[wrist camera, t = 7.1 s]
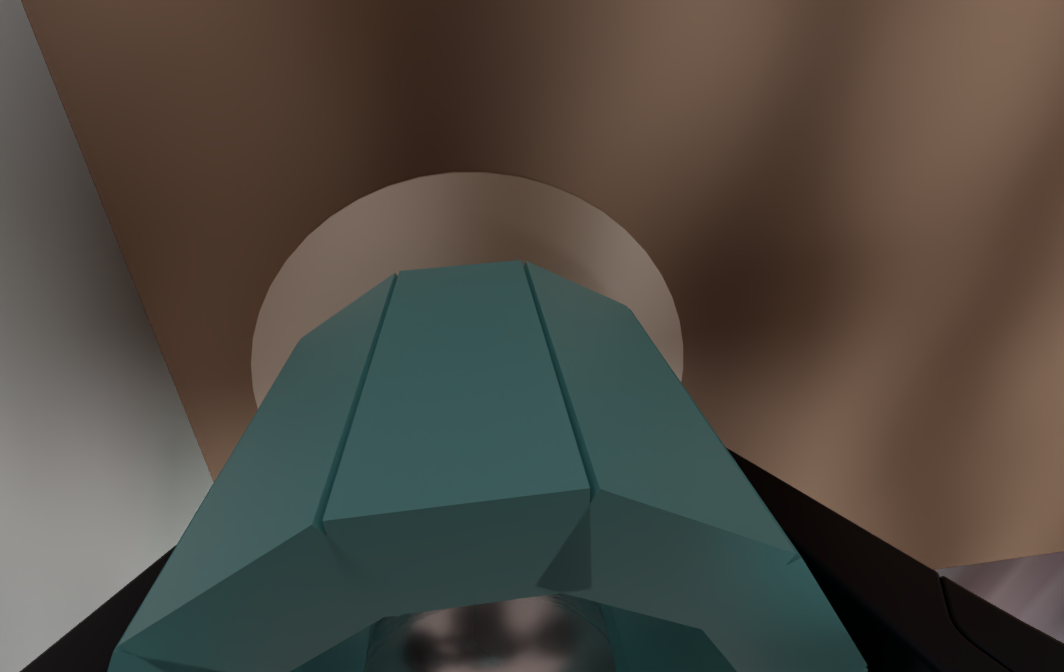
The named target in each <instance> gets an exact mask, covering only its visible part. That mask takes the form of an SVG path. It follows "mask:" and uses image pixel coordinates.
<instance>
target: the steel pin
mask: <svg viewBox="0 0 1064 672" xmlns="http://www.w3.org/2000/svg"><path fill="white" fill-rule="evenodd" d="M364 672H616V669H615V660H614V656H613V652H612V648H611V644H610V640H609V636H608V632H607V629H606V625H605V621H604V617H603V613H602V609H601V605H600V603H598V602H594V601H591V600H587V599H583V598H579V597H575V596H571V595H568V594H564V593H558V594H551V595H543V596H536V597H529V598H521V599H514V600H507V601H500V602H492V603H485V604H478V605H470V606H463V607H456V608H448V609H441V610H434V611H427V612H419V613H412V614H405V615H397V616H390V617H384V618H382V619H380V620H378V621H377V622H375V623H373V624H372V625H371V630H370V636H369V642H368V648H367V655H366V661H365V667H364Z"/></svg>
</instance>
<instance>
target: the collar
mask: <svg viewBox="0 0 1064 672" xmlns="http://www.w3.org/2000/svg"><path fill="white" fill-rule="evenodd" d="M558 593H564V594H568V595H571V596H575V597H579V598H583V599H587V600H591V601H594V602H598V603H600V605H601V609H602V613H603V617H604V621H605V625H606V629H607V632H608V636H609V640H610V644H611V648H612V652H613V656H614V660H615V669H616V672H868V669H867V668H866V666H868V665H867V663H866V662H865V660H864V659H863V657H862V655H861V654H860V652H859V650H858V649H857V647H856V645H855V644H854V642H853V641H852V639H851V637H850V636H849V634H848V632H847V631H846V629H845V627H844V626H843V624H842V623H841V621H840V619H839V618H838V616H837V614H836V613H835V611H834V609H833V608H832V606H831V605H830V603H829V601H828V600H827V598H826V596H825V595H824V593H823V591H822V590H821V588H820V587H819V585H818V583H817V582H816V580H815V578H814V577H813V575H812V573H811V572H810V570H809V569H808V567H807V565H806V564H805V562H804V560H803V559H802V557H801V556H800V554H799V553H798V551H797V550H796V548H795V547H794V546H793V544H792V543H791V541H790V540H789V538H788V537H787V535H786V534H785V533H784V531H783V530H782V528H781V527H780V525H779V524H778V522H777V521H776V519H775V518H774V517H773V515H772V514H771V512H770V511H769V509H768V508H767V506H766V505H765V504H764V502H763V501H762V499H761V498H760V496H759V495H758V493H757V492H756V490H755V489H754V488H753V486H752V485H751V483H750V482H749V480H748V479H747V477H746V476H745V475H744V473H743V472H742V470H741V469H740V467H739V466H738V464H737V463H736V461H735V460H734V459H733V457H732V456H731V454H730V453H729V451H728V450H727V448H726V447H725V446H724V444H723V443H722V441H721V440H720V438H719V437H718V435H717V434H716V433H715V431H714V430H713V428H712V427H711V425H710V424H709V422H708V421H707V419H706V418H705V417H704V415H703V414H702V412H701V411H700V409H699V408H698V406H697V405H696V404H695V402H694V401H693V399H692V398H691V396H690V395H689V393H688V392H687V390H686V389H685V388H684V386H683V385H682V383H681V382H680V380H679V379H678V377H677V376H676V375H675V373H674V372H673V370H672V369H671V367H670V366H669V364H668V363H667V361H666V360H665V359H664V357H663V356H662V354H661V353H660V351H659V350H658V348H657V347H656V346H655V344H654V343H653V341H652V340H651V338H650V337H649V335H648V334H647V332H646V331H645V330H644V328H643V327H642V325H641V324H640V322H639V321H638V319H637V318H636V317H635V315H634V314H633V312H632V311H631V309H629V308H628V307H627V306H626V305H624V304H622V303H619V302H617V301H615V300H613V299H610V298H608V297H606V296H604V295H601V294H599V293H597V292H595V291H593V290H590V289H588V288H586V287H584V286H581V285H579V284H577V283H575V282H572V281H570V280H568V279H566V278H564V277H561V276H559V275H557V274H555V273H552V272H550V271H548V270H546V269H543V268H541V267H539V266H537V265H535V264H532V263H530V262H528V261H526V262H525V264H524V266H523V264H522V261H521V260H515V261H504V262H493V263H482V264H470V265H459V266H448V267H437V268H426V269H415V270H404V271H399V274H398V276H397V275H396V273H394V274H392V275H391V276H389V277H388V278H386V279H385V280H384V281H382V282H381V283H379V284H378V285H376V286H375V287H373V288H372V289H371V290H369V291H368V292H366V293H365V294H363V295H362V296H361V297H359V298H358V299H356V300H355V301H353V302H352V303H351V304H349V305H348V306H346V307H345V308H343V309H342V310H340V311H339V312H338V313H336V314H335V315H333V316H332V317H330V318H329V319H328V320H326V321H325V322H323V323H322V324H320V325H319V326H318V327H316V328H315V329H313V330H312V331H310V332H309V333H307V334H306V335H305V336H303V337H302V338H301V339H300V341H298V343H297V345H296V346H295V348H294V350H293V351H292V353H291V355H290V356H289V358H288V360H287V361H286V363H285V365H284V366H283V368H282V370H281V371H280V373H279V375H278V376H277V378H276V380H275V381H274V383H273V385H272V386H271V388H270V390H269V391H268V393H267V395H266V396H265V398H264V400H263V401H262V403H261V405H260V407H259V408H258V410H257V412H256V413H255V415H254V417H253V418H252V420H251V422H250V423H249V425H248V427H247V428H246V430H245V432H244V433H243V435H242V437H241V438H240V440H239V442H238V443H237V445H236V447H235V448H234V450H233V452H232V453H231V455H230V457H229V458H228V460H227V462H226V463H225V465H224V467H223V468H222V470H221V472H220V473H219V475H218V477H217V479H216V480H215V482H214V484H213V485H212V487H211V489H210V490H209V492H208V494H207V495H206V497H205V499H204V500H203V502H202V504H201V505H200V507H199V509H198V510H197V512H196V514H195V515H194V517H193V519H192V520H191V522H190V524H189V525H188V527H187V529H186V530H185V532H184V534H183V535H182V537H181V539H180V540H179V542H178V544H177V545H176V547H175V549H174V550H173V552H172V554H171V556H170V557H169V559H168V561H167V562H166V564H165V566H164V567H163V569H162V571H161V572H160V574H159V576H158V577H157V579H156V581H155V582H154V584H153V586H152V587H151V589H150V591H149V592H148V594H147V596H146V597H145V599H144V601H143V602H142V604H141V606H140V607H139V609H138V611H137V612H136V614H135V616H134V617H133V619H132V621H131V622H130V624H129V626H128V628H127V629H126V631H125V633H124V634H123V636H122V638H121V639H120V641H119V643H118V644H117V646H116V648H115V649H114V651H113V654H112V657H111V661H110V664H109V667H108V671H107V672H364V667H365V661H366V655H367V648H368V642H369V636H370V630H371V625H372V624H373V623H375V622H377V621H378V620H380V619H382V618H384V617H390V616H397V615H405V614H412V613H419V612H427V611H434V610H441V609H448V608H456V607H463V606H470V605H478V604H485V603H492V602H500V601H507V600H514V599H521V598H529V597H536V596H543V595H551V594H558Z"/></svg>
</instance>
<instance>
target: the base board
mask: <svg viewBox="0 0 1064 672" xmlns="http://www.w3.org/2000/svg"><path fill="white" fill-rule="evenodd" d="M21 2H22V4H23V7H24V9H25V12H26V14H27V17H28V19H29V22H30V24H31V27H32V29H33V32H34V34H35V37H36V39H37V42H38V44H39V47H40V49H41V52H42V54H43V57H44V59H45V62H46V64H47V67H48V69H49V72H50V74H51V77H52V79H53V82H54V84H55V87H56V89H57V92H58V94H59V97H60V99H61V102H62V104H63V107H64V109H65V112H66V114H67V117H68V119H69V122H70V124H71V127H72V129H73V132H74V134H75V137H76V139H77V142H78V144H79V147H80V149H81V152H82V154H83V157H84V159H85V162H86V164H87V167H88V169H89V172H90V174H91V177H92V179H93V182H94V184H95V187H96V189H97V192H98V194H99V197H100V199H101V202H102V204H103V207H104V209H105V212H106V214H107V217H108V219H109V222H110V224H111V227H112V229H113V232H114V234H115V237H116V239H117V242H118V244H119V247H120V249H121V252H122V254H123V257H124V259H125V262H126V264H127V267H128V269H129V272H130V274H131V277H132V279H133V282H134V284H135V287H136V289H137V292H138V294H139V297H140V299H141V302H142V304H143V307H144V309H145V311H146V314H147V316H148V319H149V321H150V324H151V326H152V329H153V331H154V334H155V336H156V339H157V341H158V344H159V346H160V349H161V351H162V354H163V356H164V359H165V361H166V364H167V366H168V369H169V371H170V374H171V376H172V379H173V381H174V384H175V386H176V389H177V391H178V394H179V396H180V399H181V401H182V404H183V406H184V409H185V411H186V414H187V416H188V419H189V421H190V424H191V426H192V429H193V431H194V434H195V436H196V439H197V441H198V444H199V446H200V449H201V451H202V454H203V456H204V459H205V461H206V464H207V466H208V469H209V471H210V474H211V476H212V479H213V481H214V482H215V480H216V479H217V477H218V475H219V473H220V472H221V470H222V468H223V467H224V465H225V463H226V462H227V460H228V458H229V457H230V455H231V453H232V452H233V450H234V448H235V447H236V445H237V443H238V442H239V440H240V438H241V437H242V435H243V433H244V432H245V430H246V428H247V427H248V425H249V423H250V422H251V420H252V418H253V417H254V415H255V413H256V412H257V410H258V408H259V407H260V405H261V403H262V401H263V400H264V398H265V396H266V395H267V393H268V391H269V390H270V388H271V386H272V385H273V383H274V381H275V380H276V378H277V376H278V375H279V373H280V371H281V370H282V368H283V366H284V365H285V363H286V361H287V360H288V358H289V356H290V355H291V353H292V351H293V350H294V348H295V346H296V345H297V343H298V341H300V339H301V338H302V337H303V336H305V335H306V334H307V333H309V332H310V331H312V330H313V329H315V328H316V327H318V326H319V325H320V324H322V323H323V322H325V321H326V320H328V319H329V318H330V317H332V316H333V315H335V314H336V313H338V312H339V311H340V310H342V309H343V308H345V307H346V306H348V305H349V304H351V303H352V302H353V301H355V300H356V299H358V298H359V297H361V296H362V295H363V294H365V293H366V292H368V291H369V290H371V289H372V288H373V287H375V286H376V285H378V284H379V283H381V282H382V281H384V280H385V279H386V278H388V277H389V276H391V275H392V274H394V273H396V275H397V276H398V274H399V271H404V270H415V269H426V268H437V267H448V266H459V265H470V264H482V263H493V262H504V261H515V260H521V261H522V264H523V266H524V264H525V262H526V261H528V262H530V263H532V264H535V265H537V266H539V267H541V268H543V269H546V270H548V271H550V272H552V273H555V274H557V275H559V276H561V277H564V278H566V279H568V280H570V281H572V282H575V283H577V284H579V285H581V286H584V287H586V288H588V289H590V290H593V291H595V292H597V293H599V294H601V295H604V296H606V297H608V298H610V299H613V300H615V301H617V302H619V303H622V304H624V305H626V306H627V307H628V308H629V309H631V311H632V312H633V314H634V315H635V317H636V318H637V319H638V321H639V322H640V324H641V325H642V327H643V328H644V330H645V331H646V332H647V334H648V335H649V337H650V338H651V340H652V341H653V343H654V344H655V346H656V347H657V348H658V350H659V351H660V353H661V354H662V356H663V357H664V359H665V360H666V361H667V363H668V364H669V366H670V367H671V369H672V370H673V372H674V373H675V375H676V376H677V377H678V379H679V380H680V382H681V383H682V385H683V386H684V388H685V389H686V390H687V392H688V393H689V395H690V396H691V398H692V399H693V401H694V402H695V404H696V405H697V406H698V408H699V409H700V411H701V412H702V414H703V415H704V417H705V418H706V419H707V421H708V422H709V424H710V425H711V427H712V428H713V430H714V431H715V433H716V434H717V435H718V437H719V438H720V440H721V441H722V443H723V444H724V446H725V447H726V448H728V449H730V450H732V451H733V452H735V453H737V454H738V455H740V456H742V457H743V458H745V459H747V460H749V461H750V462H752V463H754V464H755V465H757V466H759V467H760V468H762V469H764V470H765V471H767V472H769V473H771V474H772V475H774V476H776V477H777V478H779V479H781V480H782V481H784V482H786V483H787V484H789V485H791V486H792V487H794V488H796V489H798V490H799V491H801V492H803V493H804V494H806V495H808V496H809V497H811V498H813V499H814V500H816V501H818V502H819V503H821V504H823V505H825V506H826V507H828V508H830V509H831V510H833V511H835V512H836V513H838V514H840V515H841V516H843V517H845V518H847V519H848V520H850V521H852V522H853V523H855V524H857V525H858V526H860V527H862V528H863V529H865V530H867V531H868V532H870V533H872V534H874V535H875V536H877V537H879V538H880V539H882V540H884V541H885V542H887V543H889V544H890V545H892V546H894V547H895V548H897V549H899V550H901V551H902V552H904V553H906V554H907V555H909V556H911V557H912V558H914V559H916V560H917V561H919V562H921V563H923V564H924V565H926V566H928V567H929V568H931V569H933V570H935V569H942V568H949V567H956V566H963V565H971V564H978V563H985V562H992V561H999V560H1006V559H1013V558H1020V557H1027V556H1034V555H1041V554H1048V553H1055V552H1062V551H1064V0H21Z"/></svg>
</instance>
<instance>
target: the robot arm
mask: <svg viewBox="0 0 1064 672" xmlns="http://www.w3.org/2000/svg"><path fill="white" fill-rule="evenodd" d="M727 450H728V451H729V453H730V454H731V456H732V457H733V459H734V460H735V461H736V463H737V464H738V466H739V467H740V469H741V470H742V472H743V473H744V475H745V476H746V477H747V479H748V480H749V482H750V483H751V485H752V486H753V488H754V489H755V490H756V492H757V493H758V495H759V496H760V498H761V499H762V501H763V502H764V504H765V505H766V506H767V508H768V509H769V511H770V512H771V514H772V515H773V517H774V518H775V519H776V521H777V522H778V524H779V525H780V527H781V528H782V530H783V531H784V533H785V534H786V535H787V537H788V538H789V540H790V541H791V543H792V544H793V546H794V547H795V548H796V550H797V551H798V553H799V554H800V556H801V557H802V559H803V560H804V562H805V564H806V565H807V567H808V569H809V570H810V572H811V573H812V575H813V577H814V578H815V580H816V582H817V583H818V585H819V587H820V588H821V590H822V591H823V593H824V595H825V596H826V598H827V600H828V601H829V603H830V605H831V606H832V608H833V609H834V611H835V613H836V614H837V616H838V618H839V619H840V621H841V623H842V624H843V626H844V627H845V629H846V631H847V632H848V634H849V636H850V637H851V639H852V641H853V642H854V644H855V645H856V647H857V649H858V650H859V652H860V654H861V655H862V657H863V659H864V660H865V662H866V663H867V665H868V666H866V668H867V669H868V672H1064V643H1062V642H1060V641H1058V640H1056V639H1055V638H1053V637H1051V636H1049V635H1047V634H1045V633H1043V632H1041V631H1040V630H1038V629H1036V628H1034V627H1032V626H1030V625H1028V624H1026V623H1025V622H1023V621H1021V620H1019V619H1017V618H1016V617H1014V616H1012V615H1010V614H1009V613H1007V612H1005V611H1003V610H1002V609H1000V608H998V607H996V606H995V605H993V604H991V603H989V602H988V601H986V600H984V599H982V598H981V597H979V596H977V595H975V594H974V593H972V592H970V591H968V590H967V589H965V588H963V587H962V586H960V585H958V584H957V583H955V582H953V581H952V580H950V579H948V578H946V577H944V576H942V577H939V574H938V573H937V572H936V571H934V570H933V569H931V568H929V567H928V566H926V565H924V564H923V563H921V562H919V561H917V560H916V559H914V558H912V557H911V556H909V555H907V554H906V553H904V552H902V551H901V550H899V549H897V548H895V547H894V546H892V545H890V544H889V543H887V542H885V541H884V540H882V539H880V538H879V537H877V536H875V535H874V534H872V533H870V532H868V531H867V530H865V529H863V528H862V527H860V526H858V525H857V524H855V523H853V522H852V521H850V520H848V519H847V518H845V517H843V516H841V515H840V514H838V513H836V512H835V511H833V510H831V509H830V508H828V507H826V506H825V505H823V504H821V503H819V502H818V501H816V500H814V499H813V498H811V497H809V496H808V495H806V494H804V493H803V492H801V491H799V490H798V489H796V488H794V487H792V486H791V485H789V484H787V483H786V482H784V481H782V480H781V479H779V478H777V477H776V476H774V475H772V474H771V473H769V472H767V471H765V470H764V469H762V468H760V467H759V466H757V465H755V464H754V463H752V462H750V461H749V460H747V459H745V458H743V457H742V456H740V455H738V454H737V453H735V452H733V451H732V450H730V449H728V448H727ZM175 547H176V546H174V547H173V548H172V549H171V550H169V551H168V552H167V553H166V554H164V555H163V556H162V557H161V558H159V559H158V560H157V561H156V562H155V563H153V564H152V565H151V566H150V567H148V568H147V569H146V570H145V571H143V572H142V573H141V574H140V575H139V576H137V577H136V578H135V579H134V580H132V581H131V582H130V583H129V584H127V585H126V586H125V587H124V588H122V589H121V590H120V591H119V592H118V593H116V594H115V595H114V596H113V597H111V598H110V599H109V600H108V601H106V602H105V603H104V604H103V605H101V606H100V607H99V608H98V609H97V610H95V611H94V612H93V613H92V614H90V615H89V616H88V617H87V618H85V619H84V620H83V621H82V622H81V623H79V624H78V625H77V626H76V627H74V628H73V629H72V630H71V631H69V632H68V633H67V634H66V635H64V636H63V637H62V638H61V639H60V640H58V641H57V642H56V643H55V644H53V645H52V646H51V647H50V648H48V649H47V650H46V651H45V652H43V653H42V654H41V655H40V656H39V657H37V658H36V659H35V660H34V661H32V662H31V663H30V664H29V665H27V666H26V667H25V668H24V669H22V670H21V671H20V672H107V671H108V667H109V664H110V661H111V657H112V654H113V651H114V649H115V648H116V646H117V644H118V643H119V641H120V639H121V638H122V636H123V634H124V633H125V631H126V629H127V628H128V626H129V624H130V622H131V621H132V619H133V617H134V616H135V614H136V612H137V611H138V609H139V607H140V606H141V604H142V602H143V601H144V599H145V597H146V596H147V594H148V592H149V591H150V589H151V587H152V586H153V584H154V582H155V581H156V579H157V577H158V576H159V574H160V572H161V571H162V569H163V567H164V566H165V564H166V562H167V561H168V559H169V557H170V556H171V554H172V552H173V550H174V549H175Z"/></svg>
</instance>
